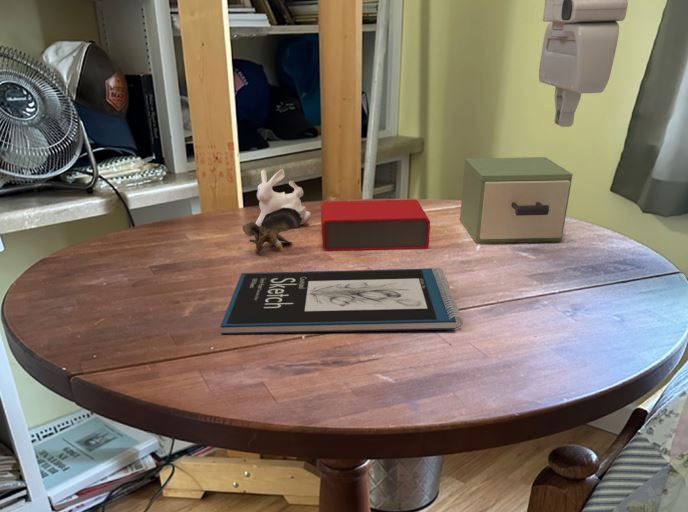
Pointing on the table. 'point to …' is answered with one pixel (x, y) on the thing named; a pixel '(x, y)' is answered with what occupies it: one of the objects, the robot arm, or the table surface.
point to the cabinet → (503, 170)
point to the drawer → (524, 209)
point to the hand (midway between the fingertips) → (563, 125)
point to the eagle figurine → (273, 227)
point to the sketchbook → (341, 302)
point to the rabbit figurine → (279, 198)
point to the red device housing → (374, 225)
